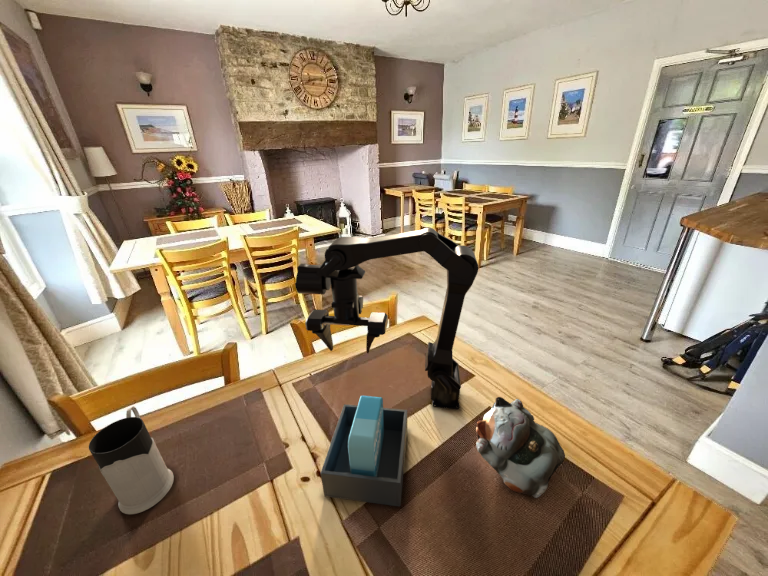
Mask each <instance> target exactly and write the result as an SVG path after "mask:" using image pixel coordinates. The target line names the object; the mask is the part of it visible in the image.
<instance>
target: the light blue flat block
mask: <svg viewBox="0 0 768 576" xmlns="http://www.w3.org/2000/svg"><path fill="white" fill-rule="evenodd" d="M357 405H358V407H357V410H356V414H355V417H354V421H353V424H352V428H351V431H350V435H349V439H348V452H349V461H350V471H351V474H357V475H365V476H373V477H377V475H378V469H379V463H380V457H381V451H382V445H383V438H384V419H383V408H384V399H383V397H382V396H371V395H360V397H359V400H358V403H357Z"/></svg>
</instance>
